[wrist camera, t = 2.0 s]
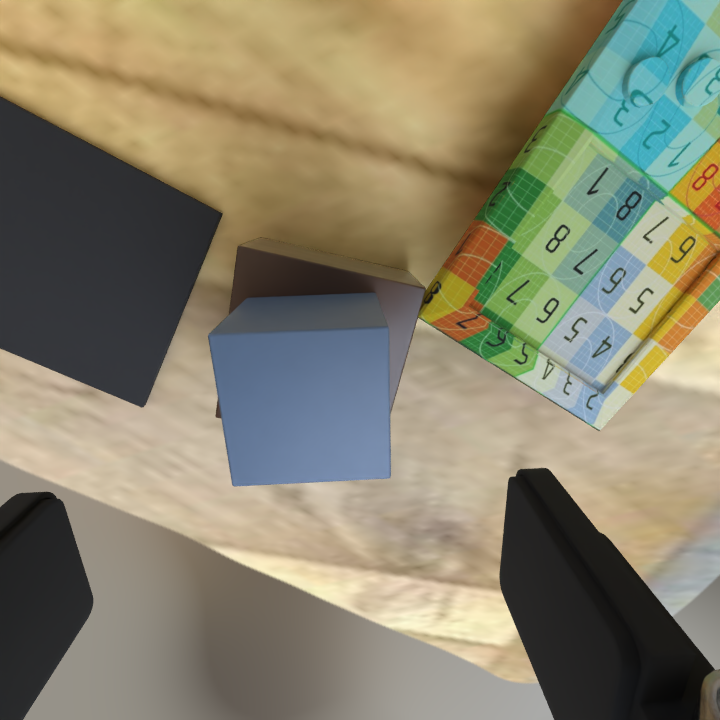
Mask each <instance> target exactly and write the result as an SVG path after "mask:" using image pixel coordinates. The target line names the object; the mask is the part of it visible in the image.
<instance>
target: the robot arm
mask: <svg viewBox="0 0 720 720" xmlns="http://www.w3.org/2000/svg"><path fill="white" fill-rule="evenodd" d="M500 585H501V590H502V593H503V596H504V599H505V601H506V603H507V606H508V608H509V611H510V613H511V616H512V618H513V620H514V623H515V625H516V628H517V630H518V633H519V635H520V637H521V640H522V642H523V645H524V647H525V650H526V652H527V655H528V657H529V659H530V662H531V664H532V667H533V669H534V672H535V674H536V676H537V679H538V681H539V684H540V686H541V689H542V691H543V693H544V696H545V698H546V700H547V703H548V706H549V708H550V710H551V713H552V715H553V718H554V720H720V669H719V670H715V669H714V668H713V667H712V665H711V664H710V663H709V662H708V660H707V659H706V658H705V657H704V656H703V654H702V653H701V652H700V651H699V649H698V648H697V647H696V646H695V645H694V643H693V642H692V641H691V639H690V638H689V637H688V636H687V635H686V633H685V632H684V631H683V630H682V628H681V627H680V626H679V625H678V623H677V622H676V621H675V620H674V619H673V617H672V616H671V615H670V614H669V612H668V611H667V610H666V609H665V607H664V606H663V605H662V604H661V602H660V601H659V600H658V599H657V597H656V596H655V595H654V594H653V593H652V591H651V590H650V589H649V588H648V586H647V585H646V584H645V583H644V581H643V580H642V579H641V578H640V576H639V575H638V574H637V573H636V571H635V570H634V569H633V568H632V567H631V565H630V564H629V563H628V562H627V560H626V559H625V558H624V557H623V555H622V554H621V553H620V552H619V550H618V549H617V548H616V547H615V546H614V544H613V543H612V542H611V541H610V540H609V539H608V538H607V537H606V536H605V535H604V534H602V533H600V532H598V530H597V529H596V528H595V526H594V525H593V524H592V523H591V521H590V520H589V519H588V518H587V516H586V515H585V514H584V513H583V511H582V510H581V509H580V508H579V506H578V505H577V504H576V503H575V501H574V500H573V499H572V498H571V496H570V495H569V494H568V492H567V491H566V490H565V489H564V487H563V486H562V485H561V484H560V482H559V481H558V480H557V479H556V477H555V476H554V475H553V474H552V472H551V471H550V470H549V469H547V468H537V469H520V470H518V472H517V474H516V477H510V478H509V481H508V490H507V501H506V511H505V522H504V533H503V544H502V554H501V565H500ZM92 606H93V595H92V592H91V589H90V585H89V582H88V579H87V576H86V573H85V569H84V566H83V563H82V560H81V557H80V554H79V550H78V547H77V544H76V541H75V538H74V535H73V531H72V528H71V525H70V522H69V519H68V516H67V512H66V509H65V506H64V504H63V502H62V501H61V500H60V499H57V498H56V496H55V495H54V494H53V493H51V492H34V493H20V494H16V495H15V496H13V497H12V498H11V499H9V500H8V501H7V502H6V503H5V504H3V505H2V506H1V507H0V720H23V719H24V717H25V715H26V714H27V712H28V711H29V709H30V708H31V706H32V705H33V703H34V701H35V700H36V698H37V697H38V695H39V694H40V692H41V690H42V689H43V687H44V686H45V684H46V683H47V681H48V680H49V678H50V677H51V675H52V673H53V672H54V670H55V669H56V667H57V665H58V664H59V662H60V661H61V659H62V658H63V656H64V655H65V653H66V652H67V650H68V648H69V647H70V645H71V644H72V642H73V641H74V639H75V637H76V636H77V634H78V633H79V631H80V630H81V628H82V627H83V625H84V623H85V622H86V620H87V619H88V617H89V615H90V613H91V610H92Z"/></svg>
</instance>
